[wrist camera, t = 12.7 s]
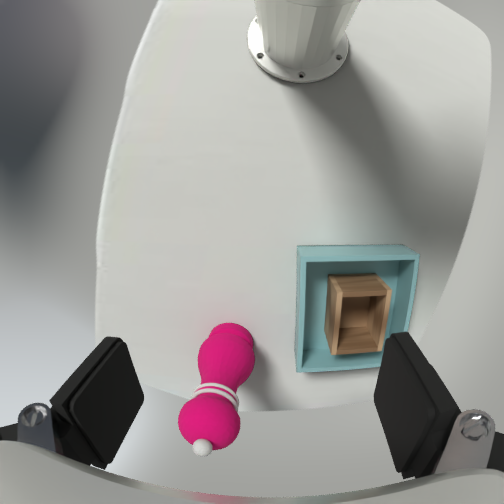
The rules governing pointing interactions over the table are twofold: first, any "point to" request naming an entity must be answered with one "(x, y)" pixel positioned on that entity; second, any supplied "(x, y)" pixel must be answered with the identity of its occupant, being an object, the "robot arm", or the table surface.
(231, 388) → the pepper mill
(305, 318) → the big crate
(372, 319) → the small crate
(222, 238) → the table surface
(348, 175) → the table surface
